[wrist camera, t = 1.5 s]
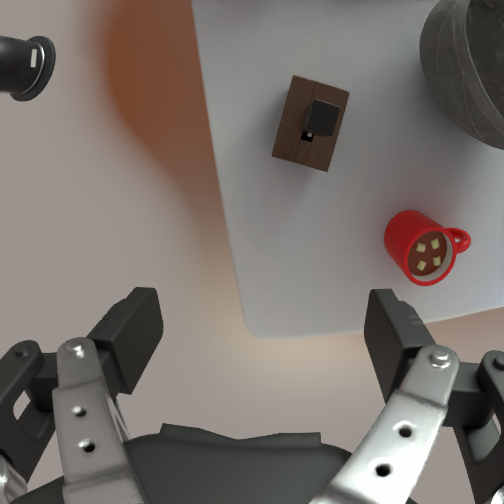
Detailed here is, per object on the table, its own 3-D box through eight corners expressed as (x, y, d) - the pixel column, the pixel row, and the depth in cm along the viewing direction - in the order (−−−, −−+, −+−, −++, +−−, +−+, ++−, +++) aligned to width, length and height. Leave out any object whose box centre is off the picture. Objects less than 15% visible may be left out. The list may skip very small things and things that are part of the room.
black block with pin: (294, 134, 37) (305, 132, 21) (299, 112, 36) (315, 95, 20) (309, 138, 37) (331, 140, 21) (315, 116, 36) (341, 103, 20)
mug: (455, 248, 40) (481, 269, 33) (387, 268, 42) (405, 293, 35) (451, 199, 38) (480, 213, 30) (380, 216, 40) (400, 234, 33)
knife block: (272, 152, 38) (271, 156, 31) (290, 86, 35) (293, 74, 27) (317, 165, 38) (327, 172, 31) (336, 100, 35) (349, 91, 28)
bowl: (525, 116, 31) (588, 122, 17) (444, 170, 36) (509, 191, 22) (465, 0, 26) (518, -28, 12) (369, 37, 31) (411, -4, 17)
